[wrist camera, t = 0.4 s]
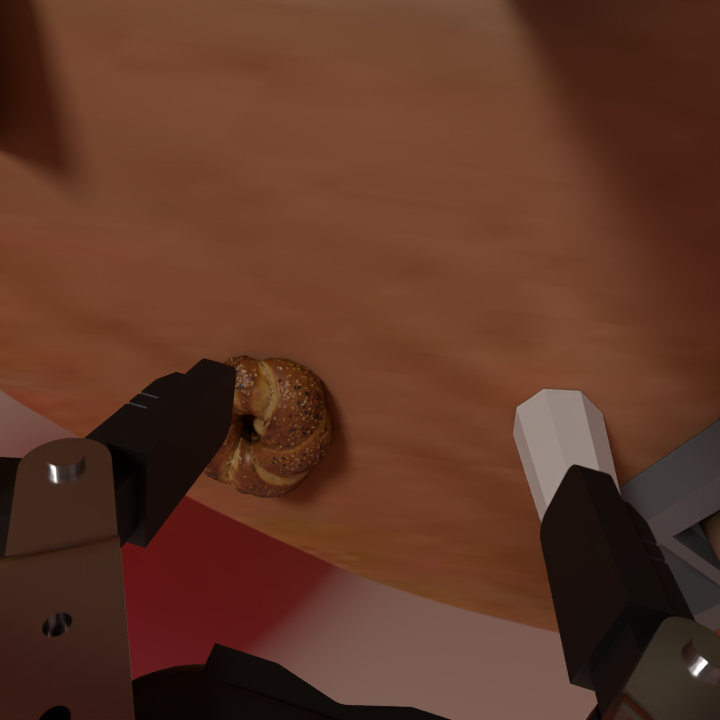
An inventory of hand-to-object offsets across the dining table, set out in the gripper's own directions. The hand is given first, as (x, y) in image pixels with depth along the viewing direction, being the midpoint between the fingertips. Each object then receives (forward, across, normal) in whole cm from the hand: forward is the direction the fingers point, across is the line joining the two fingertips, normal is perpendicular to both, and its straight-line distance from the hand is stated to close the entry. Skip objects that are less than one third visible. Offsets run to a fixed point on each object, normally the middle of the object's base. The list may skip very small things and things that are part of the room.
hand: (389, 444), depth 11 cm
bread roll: (+19, +8, +14) cm, 25 cm away
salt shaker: (+18, -10, +8) cm, 23 cm away
